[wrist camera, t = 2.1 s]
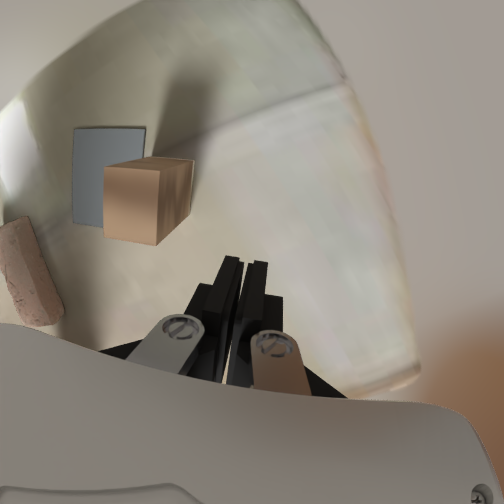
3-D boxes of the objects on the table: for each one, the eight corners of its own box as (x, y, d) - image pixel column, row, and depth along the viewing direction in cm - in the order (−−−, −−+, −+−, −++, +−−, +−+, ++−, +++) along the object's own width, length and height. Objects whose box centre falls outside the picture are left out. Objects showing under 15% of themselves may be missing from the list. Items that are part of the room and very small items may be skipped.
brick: (3, 225, 36) (-16, 235, 31) (30, 212, 34) (9, 222, 30) (39, 314, 41) (24, 328, 37) (69, 311, 40) (53, 328, 36)
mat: (139, 232, 34) (138, 233, 33) (74, 222, 34) (73, 222, 34) (145, 129, 29) (144, 129, 29) (75, 129, 29) (74, 129, 29)
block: (189, 214, 32) (156, 246, 23) (148, 208, 33) (103, 237, 23) (194, 160, 30) (160, 170, 21) (151, 156, 30) (104, 166, 21)
